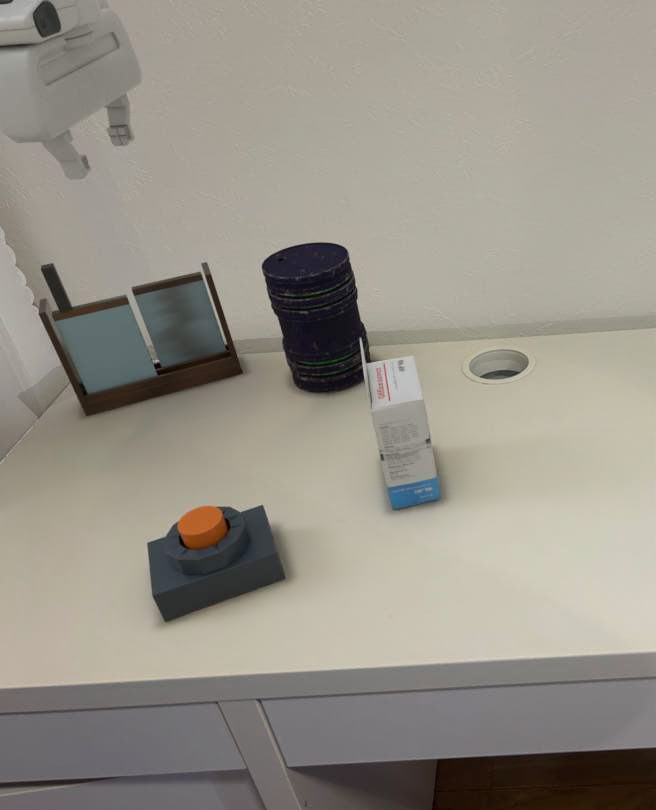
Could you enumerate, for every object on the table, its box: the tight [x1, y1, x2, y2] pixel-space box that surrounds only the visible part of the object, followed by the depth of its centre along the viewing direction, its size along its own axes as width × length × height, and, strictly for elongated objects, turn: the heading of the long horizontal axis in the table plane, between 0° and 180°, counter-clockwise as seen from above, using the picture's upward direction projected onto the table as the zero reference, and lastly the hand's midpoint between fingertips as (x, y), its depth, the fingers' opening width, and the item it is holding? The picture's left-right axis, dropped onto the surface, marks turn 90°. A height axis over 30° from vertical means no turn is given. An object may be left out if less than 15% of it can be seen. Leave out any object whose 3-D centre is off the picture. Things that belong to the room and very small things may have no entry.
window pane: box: [40, 262, 158, 394], centre depth 90 cm, size 8×1×16 cm, turn 116°
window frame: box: [37, 261, 244, 417], centre depth 94 cm, size 18×4×14 cm, turn 116°
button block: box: [146, 504, 287, 623], centre depth 69 cm, size 10×7×5 cm
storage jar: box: [261, 241, 372, 395], centre depth 94 cm, size 10×10×15 cm
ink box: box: [360, 338, 441, 511], centre depth 75 cm, size 8×5×15 cm, turn 14°
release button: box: [177, 505, 228, 549], centre depth 67 cm, size 4×4×2 cm
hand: (103, 159), depth 78 cm, fingers open, 8 cm apart
